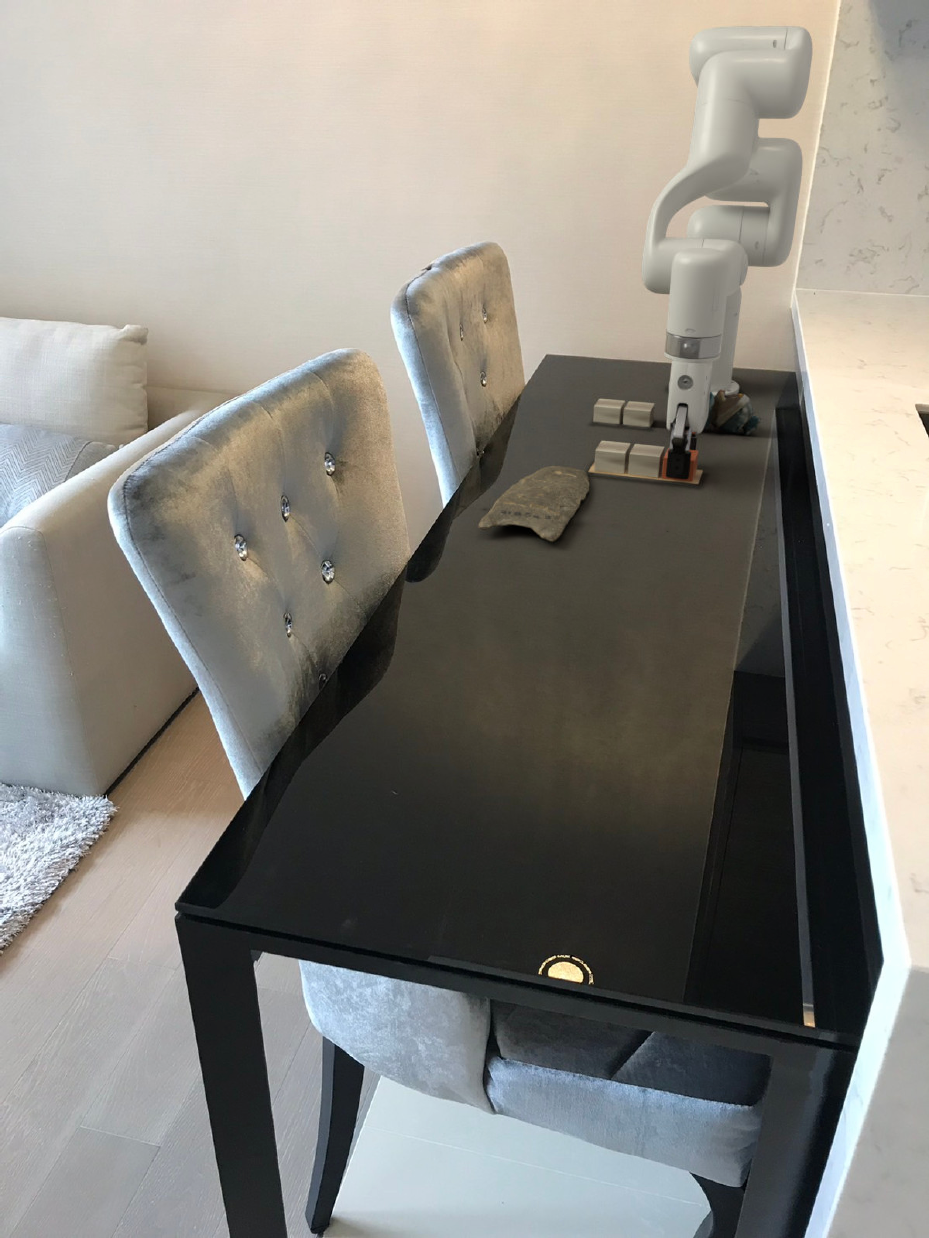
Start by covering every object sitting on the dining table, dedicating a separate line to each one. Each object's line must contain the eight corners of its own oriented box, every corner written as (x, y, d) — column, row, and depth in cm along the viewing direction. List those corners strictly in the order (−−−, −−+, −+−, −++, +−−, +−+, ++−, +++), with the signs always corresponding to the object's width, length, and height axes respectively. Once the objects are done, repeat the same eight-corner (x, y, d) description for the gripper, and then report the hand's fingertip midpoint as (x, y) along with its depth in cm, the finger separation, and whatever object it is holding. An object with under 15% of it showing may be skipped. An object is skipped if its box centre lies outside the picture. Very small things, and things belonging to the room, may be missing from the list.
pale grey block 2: (627, 419, 169) (628, 401, 168) (653, 421, 168) (655, 403, 167) (622, 427, 166) (623, 408, 164) (649, 430, 165) (650, 411, 163)
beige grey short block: (598, 416, 171) (599, 398, 169) (624, 419, 170) (625, 400, 168) (593, 424, 167) (594, 406, 166) (619, 427, 166) (620, 408, 164)
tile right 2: (633, 464, 149) (634, 443, 148) (662, 467, 148) (664, 446, 147) (627, 474, 146) (629, 453, 144) (658, 477, 145) (660, 456, 143)
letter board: (595, 462, 152) (596, 458, 152) (702, 474, 147) (703, 470, 147) (587, 475, 147) (588, 471, 147) (697, 487, 143) (698, 483, 142)
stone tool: (558, 550, 125) (601, 480, 146) (558, 529, 124) (602, 461, 144) (475, 539, 128) (529, 472, 149) (475, 518, 127) (529, 454, 147)
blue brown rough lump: (675, 383, 167) (767, 382, 161) (672, 433, 169) (763, 434, 163) (661, 382, 160) (756, 382, 153) (658, 434, 162) (753, 436, 155)
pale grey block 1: (600, 460, 151) (601, 440, 149) (629, 463, 150) (630, 443, 148) (594, 470, 147) (595, 450, 146) (623, 474, 146) (625, 453, 144)
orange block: (666, 468, 148) (668, 447, 146) (696, 471, 147) (698, 450, 145) (661, 478, 144) (663, 457, 143) (692, 481, 143) (694, 460, 141)
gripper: (713, 363, 128) (698, 495, 137) (727, 332, 142) (713, 453, 151) (655, 359, 130) (644, 489, 139) (674, 329, 144) (663, 448, 153)
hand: (680, 469), depth 145 cm, fingers open, 5 cm apart
